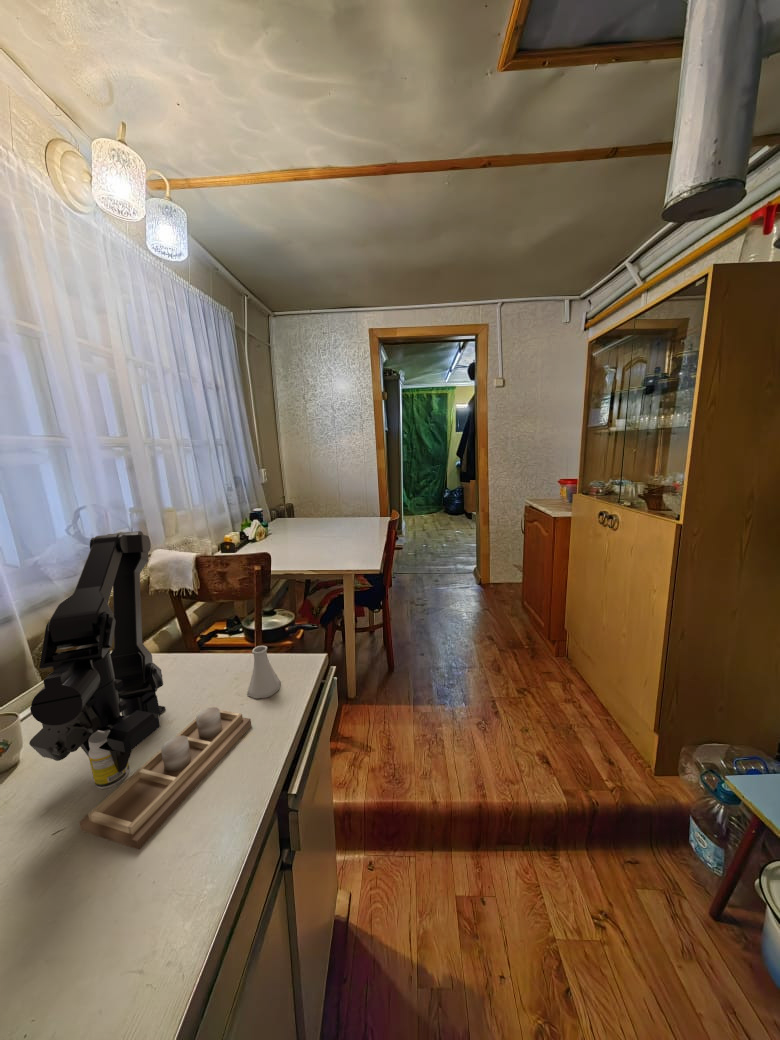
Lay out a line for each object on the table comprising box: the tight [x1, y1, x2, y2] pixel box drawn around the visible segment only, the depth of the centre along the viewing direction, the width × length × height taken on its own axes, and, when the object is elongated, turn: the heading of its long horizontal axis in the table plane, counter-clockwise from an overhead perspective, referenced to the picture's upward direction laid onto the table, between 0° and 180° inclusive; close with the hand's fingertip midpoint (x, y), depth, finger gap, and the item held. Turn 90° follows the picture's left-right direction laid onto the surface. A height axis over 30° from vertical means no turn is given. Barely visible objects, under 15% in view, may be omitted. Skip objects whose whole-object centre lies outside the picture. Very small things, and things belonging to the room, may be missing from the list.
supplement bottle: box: [88, 730, 130, 790], centre depth 63 cm, size 5×5×8 cm
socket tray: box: [78, 706, 252, 851], centre depth 64 cm, size 11×24×5 cm, turn 164°
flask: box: [246, 645, 282, 699], centre depth 85 cm, size 7×7×10 cm
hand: (110, 767), depth 63 cm, fingers closed on supplement bottle, 5 cm apart
